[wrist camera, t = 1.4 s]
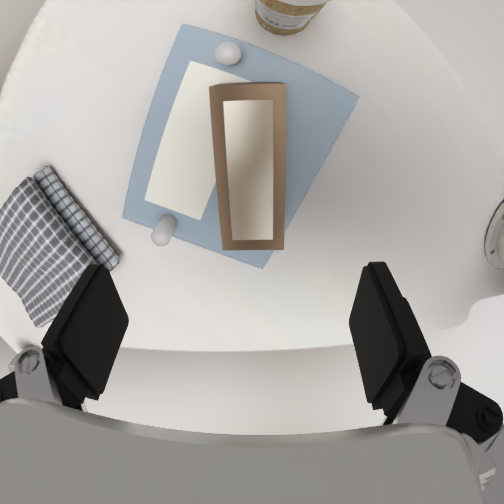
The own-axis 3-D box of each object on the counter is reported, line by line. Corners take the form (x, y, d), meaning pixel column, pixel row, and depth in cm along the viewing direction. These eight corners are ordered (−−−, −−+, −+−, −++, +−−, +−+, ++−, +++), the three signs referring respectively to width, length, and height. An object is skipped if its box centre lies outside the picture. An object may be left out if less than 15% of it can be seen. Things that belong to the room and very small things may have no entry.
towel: (130, 252, 32) (104, 298, 26) (62, 300, 38) (41, 337, 32) (50, 156, 25) (5, 185, 19) (1, 232, 31) (-29, 263, 24)
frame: (280, 81, 20) (286, 84, 16) (279, 219, 28) (283, 250, 24) (218, 83, 21) (208, 86, 16) (227, 220, 28) (222, 251, 24)
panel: (356, 96, 21) (371, 100, 18) (262, 264, 32) (262, 287, 29) (184, 25, 18) (172, 18, 15) (125, 213, 29) (110, 232, 26)
